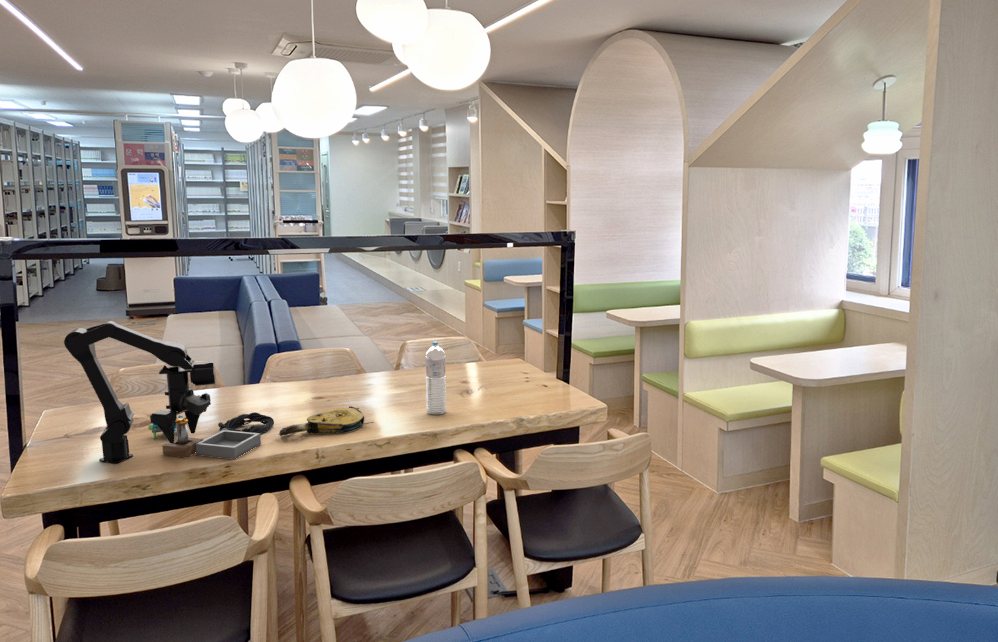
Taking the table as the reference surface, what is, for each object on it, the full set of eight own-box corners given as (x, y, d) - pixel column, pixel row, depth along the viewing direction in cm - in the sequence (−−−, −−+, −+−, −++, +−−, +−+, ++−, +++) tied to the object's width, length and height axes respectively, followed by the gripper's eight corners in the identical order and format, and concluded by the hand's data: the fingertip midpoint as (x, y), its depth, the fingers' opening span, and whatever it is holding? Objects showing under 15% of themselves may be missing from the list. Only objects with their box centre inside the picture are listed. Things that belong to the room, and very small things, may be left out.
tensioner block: (186, 457, 214) (185, 447, 213) (163, 455, 216) (162, 445, 215) (204, 448, 221) (203, 438, 221) (181, 446, 224) (180, 436, 223)
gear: (190, 424, 239) (181, 410, 231) (191, 440, 236) (182, 426, 228) (153, 431, 237) (144, 417, 228) (154, 448, 234) (144, 434, 225)
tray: (235, 459, 212) (234, 447, 212) (196, 455, 216) (195, 443, 215) (261, 444, 225) (260, 433, 224) (224, 440, 228) (223, 429, 228)
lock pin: (185, 454, 217) (182, 421, 215) (174, 453, 217) (171, 420, 216) (193, 450, 220) (190, 418, 218) (182, 449, 221) (180, 417, 219)
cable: (269, 421, 248) (268, 409, 247) (281, 432, 237) (280, 419, 236) (215, 430, 239) (214, 417, 238) (225, 442, 228) (224, 429, 227)
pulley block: (271, 414, 234) (358, 398, 251) (271, 430, 235) (357, 414, 253) (287, 432, 223) (376, 414, 240) (287, 449, 225) (376, 431, 242)
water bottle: (431, 408, 261) (429, 339, 256) (449, 410, 259) (448, 340, 254) (423, 414, 254) (421, 343, 250) (441, 416, 252) (440, 344, 248)
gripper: (180, 397, 204) (184, 451, 207) (222, 380, 222) (225, 430, 225) (146, 394, 207) (151, 447, 210) (190, 378, 225) (194, 427, 228)
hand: (182, 438), depth 218 cm, fingers open, 9 cm apart
